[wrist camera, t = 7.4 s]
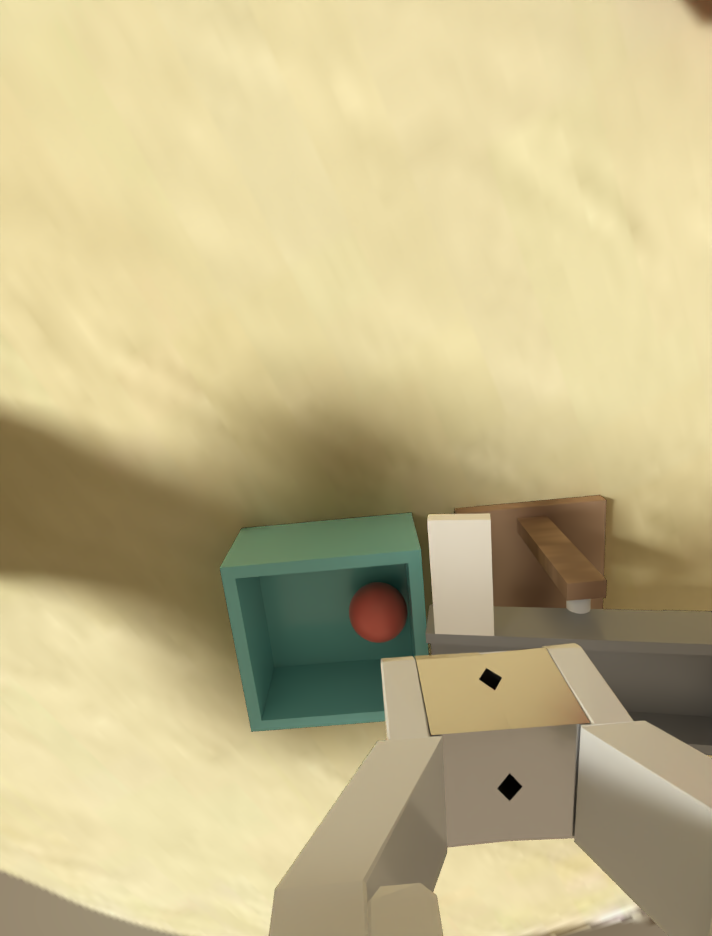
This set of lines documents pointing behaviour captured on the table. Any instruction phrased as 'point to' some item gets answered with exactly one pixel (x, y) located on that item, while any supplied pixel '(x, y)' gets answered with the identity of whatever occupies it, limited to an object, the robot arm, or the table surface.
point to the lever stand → (547, 551)
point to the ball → (378, 612)
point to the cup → (318, 617)
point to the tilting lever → (574, 633)
